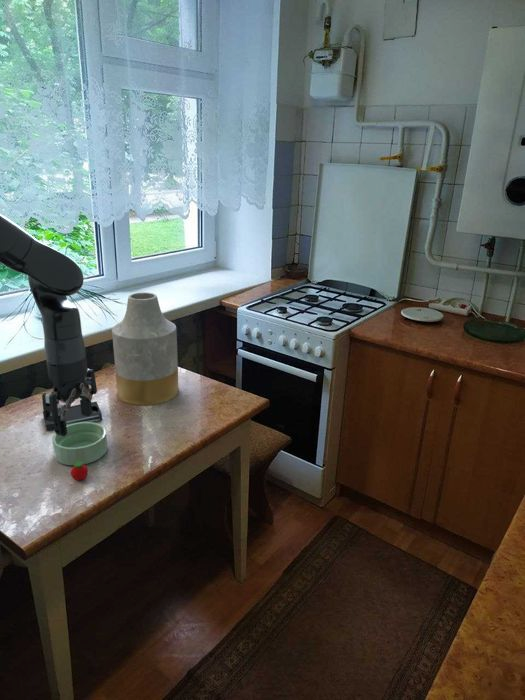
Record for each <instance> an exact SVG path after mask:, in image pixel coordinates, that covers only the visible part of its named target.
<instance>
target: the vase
mask: <svg viewBox="0 0 525 700" xmlns="http://www.w3.org/2000/svg"><path fill="white" fill-rule="evenodd" d="M126 303H127V304H126V310H125V314H124V317H123V319H122V320H121V321H119V322H118V323H116V324H115V325H114V326H113V327H112V329H111V335H112V346H113V347H112V349H113V359H114V369H115V380H116V391H117V392H116V393H117V397H118V399H119V400H120V401H122V402H123V403H125V404H129V405H133V406H142V407H147V406H148V407H149V406H155V405H161V404H164V403H166V402H169V401H171V400H173V399H174V398H175V397H177V395H178V394H179V391H180V390H179V388H180V385H179V362H178V361H179V359H178V335H177V332H178V331H177V326H176V324H175V323H174V322H172V321H170V320H168V319H167V318H166V317H165V316H164V315H163V312H162V310H161V306H160V304H159V299H158V296H157V294H156V293H153V292H134V293H131V294H129V295H128V297H127V302H126Z"/></svg>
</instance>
